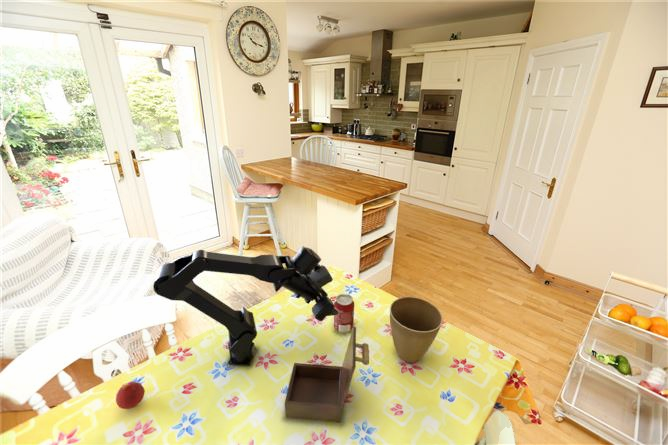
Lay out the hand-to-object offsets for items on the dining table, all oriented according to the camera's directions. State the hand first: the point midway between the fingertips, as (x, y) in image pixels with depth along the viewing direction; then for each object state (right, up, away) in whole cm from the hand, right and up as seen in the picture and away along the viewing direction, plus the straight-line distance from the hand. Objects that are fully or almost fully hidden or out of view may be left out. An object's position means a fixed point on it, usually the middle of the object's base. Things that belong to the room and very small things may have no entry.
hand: (332, 304), depth 94 cm
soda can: (+4, -10, +6) cm, 12 cm away
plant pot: (+24, -14, -3) cm, 28 cm away
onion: (-50, -20, -20) cm, 58 cm away
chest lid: (+4, -9, -23) cm, 25 cm away
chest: (-4, -20, -17) cm, 27 cm away
